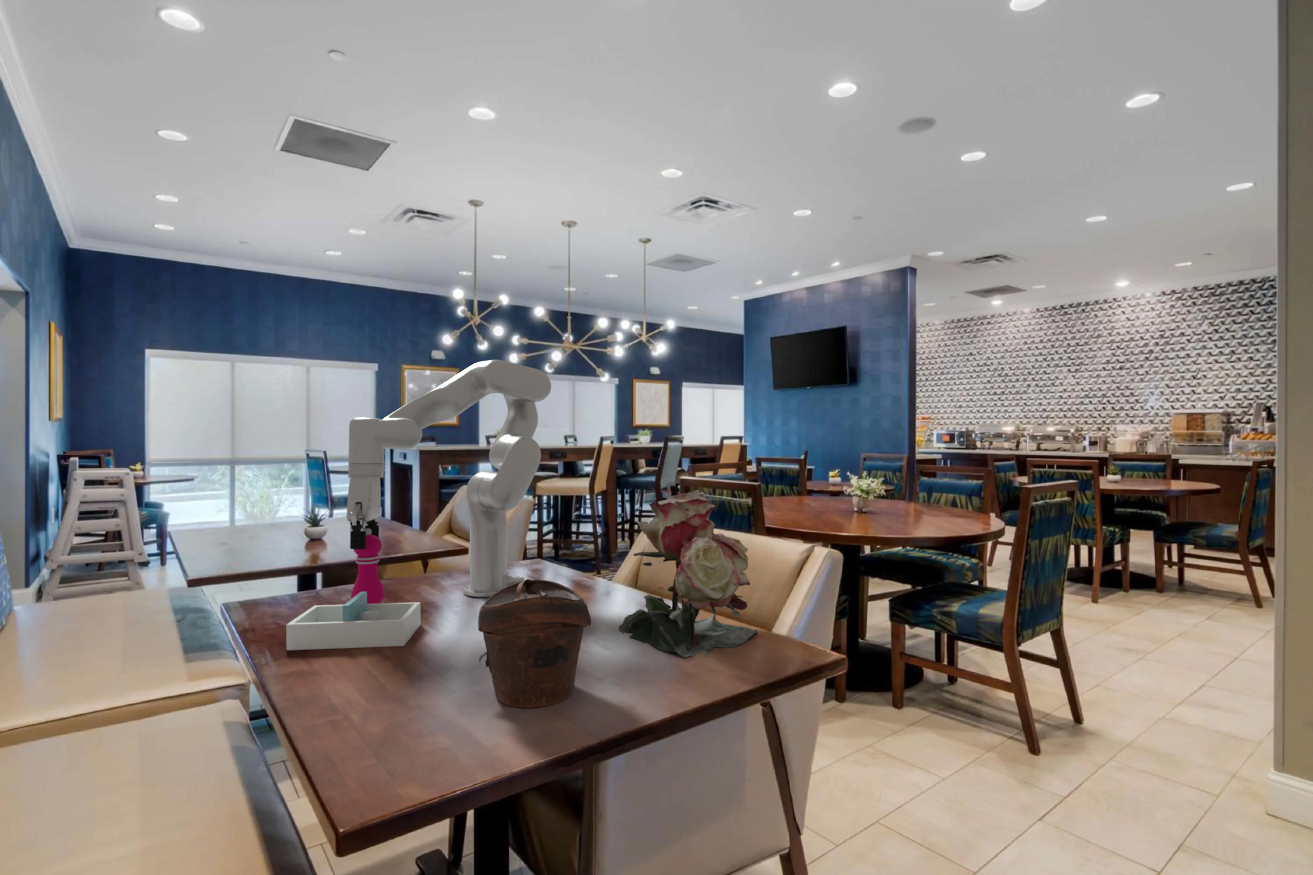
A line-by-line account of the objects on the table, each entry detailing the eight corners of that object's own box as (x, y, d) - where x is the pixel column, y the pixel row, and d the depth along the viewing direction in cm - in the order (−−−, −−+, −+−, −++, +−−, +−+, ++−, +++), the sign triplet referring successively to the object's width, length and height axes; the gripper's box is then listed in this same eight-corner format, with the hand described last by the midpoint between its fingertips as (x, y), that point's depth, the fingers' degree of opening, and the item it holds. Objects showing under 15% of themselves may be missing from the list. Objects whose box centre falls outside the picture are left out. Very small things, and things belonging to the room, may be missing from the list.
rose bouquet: (698, 667, 120) (698, 501, 120) (605, 629, 143) (605, 489, 142) (789, 638, 137) (790, 492, 136) (693, 608, 159) (693, 483, 159)
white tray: (420, 624, 146) (420, 602, 146) (403, 645, 132) (403, 620, 132) (314, 628, 143) (314, 605, 143) (286, 650, 129) (286, 624, 129)
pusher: (384, 622, 143) (384, 591, 143) (368, 638, 132) (367, 604, 132) (361, 623, 143) (360, 591, 143) (342, 639, 132) (342, 605, 132)
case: (536, 661, 123) (534, 565, 122) (615, 689, 110) (614, 582, 109) (451, 693, 109) (449, 584, 108) (531, 729, 96) (529, 606, 96)
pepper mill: (361, 620, 149) (360, 531, 149) (344, 615, 153) (344, 528, 153) (391, 613, 155) (390, 527, 154) (374, 608, 159) (373, 524, 159)
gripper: (361, 469, 161) (360, 539, 161) (335, 473, 144) (334, 551, 144) (393, 469, 162) (392, 539, 162) (371, 473, 145) (370, 551, 145)
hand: (364, 545), depth 153 cm, fingers open, 9 cm apart
